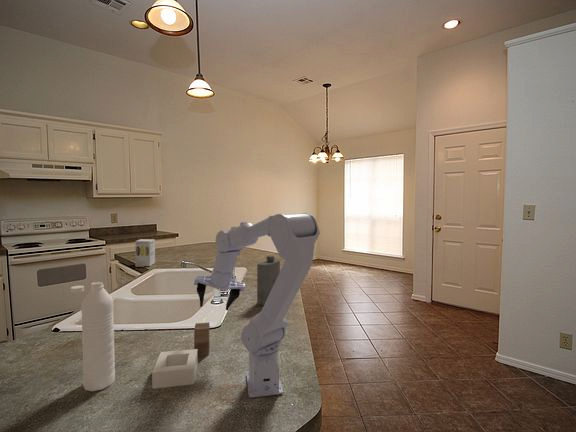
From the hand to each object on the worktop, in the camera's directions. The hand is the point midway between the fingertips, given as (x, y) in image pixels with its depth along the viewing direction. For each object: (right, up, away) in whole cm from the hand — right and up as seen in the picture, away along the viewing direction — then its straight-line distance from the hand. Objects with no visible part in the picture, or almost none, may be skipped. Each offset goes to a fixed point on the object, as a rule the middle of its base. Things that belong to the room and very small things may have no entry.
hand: (214, 306), depth 90 cm
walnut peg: (-3, -13, -2) cm, 13 cm away
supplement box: (-72, -5, +106) cm, 128 cm away
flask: (+14, -11, +43) cm, 46 cm away
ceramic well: (-6, -13, -14) cm, 20 cm away
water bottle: (-24, -14, -18) cm, 33 cm away
